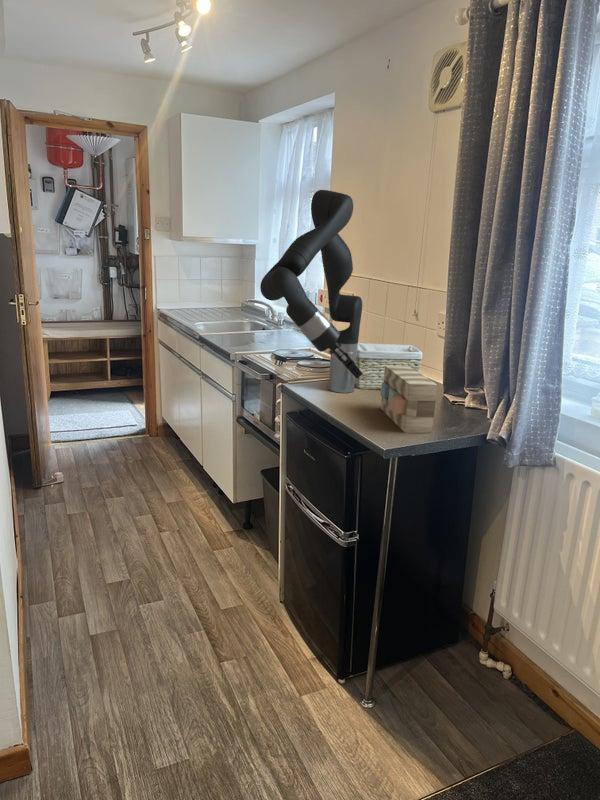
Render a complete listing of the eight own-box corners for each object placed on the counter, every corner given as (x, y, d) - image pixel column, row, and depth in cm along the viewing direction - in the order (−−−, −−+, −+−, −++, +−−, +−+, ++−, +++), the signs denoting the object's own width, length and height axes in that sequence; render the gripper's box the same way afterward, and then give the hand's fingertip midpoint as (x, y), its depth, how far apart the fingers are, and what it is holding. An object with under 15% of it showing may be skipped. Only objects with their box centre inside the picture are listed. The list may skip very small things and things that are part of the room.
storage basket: (354, 389, 210) (357, 349, 206) (348, 379, 226) (351, 341, 222) (420, 392, 212) (424, 352, 208) (409, 382, 227) (413, 344, 223)
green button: (388, 401, 177) (389, 389, 175) (398, 402, 177) (399, 389, 176) (391, 405, 173) (393, 392, 172) (402, 405, 173) (403, 392, 172)
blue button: (380, 394, 184) (381, 382, 183) (390, 395, 185) (391, 382, 184) (384, 398, 180) (385, 385, 179) (394, 398, 181) (395, 385, 180)
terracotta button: (389, 409, 169) (391, 395, 168) (400, 409, 169) (401, 396, 168) (394, 413, 165) (395, 399, 164) (404, 413, 165) (406, 399, 164)
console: (380, 408, 188) (385, 365, 184) (404, 408, 189) (409, 366, 185) (404, 432, 165) (409, 384, 161) (431, 432, 166) (437, 384, 162)
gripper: (334, 324, 151) (375, 372, 156) (324, 317, 163) (363, 361, 168) (312, 344, 151) (354, 390, 156) (304, 335, 164) (344, 379, 169)
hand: (359, 375), depth 162 cm, fingers closed
